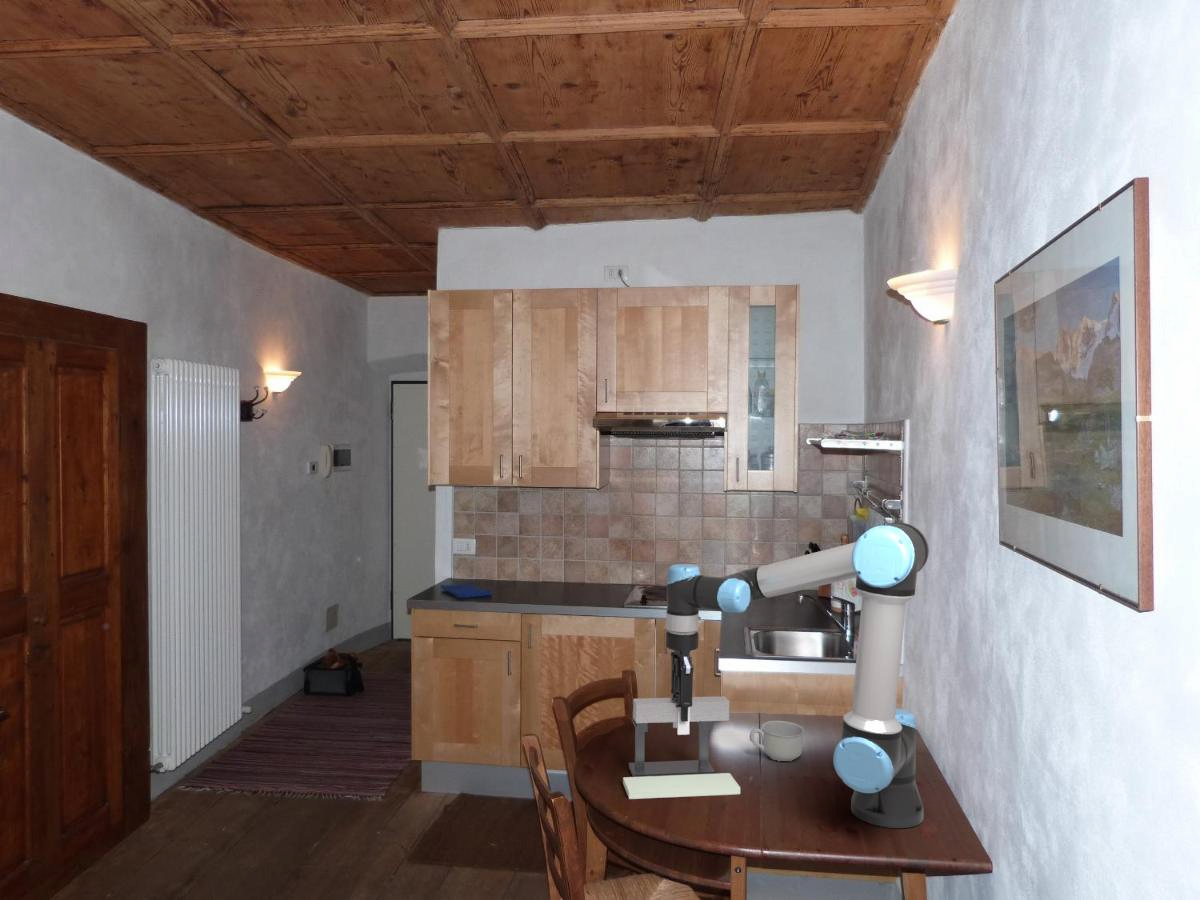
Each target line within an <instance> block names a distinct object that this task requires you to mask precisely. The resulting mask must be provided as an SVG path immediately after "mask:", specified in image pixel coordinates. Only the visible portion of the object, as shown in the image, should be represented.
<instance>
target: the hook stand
mask: <svg viewBox="0 0 1200 900" xmlns="http://www.w3.org/2000/svg"><path fill="white" fill-rule="evenodd" d="M696 722H697V724H698V759H695V760H694V759H693V760H692V759H691V760H669V761H667V760H665V761H645V748H646V747H645V743H646V741H645V739H646V736H645V733H647V732H648V731H649V730H648V728H649V727H648V726H649V725H648V724H649V723H636V722H635V720H634V718H633V717H632V723H633V725H634V730H635V731H634V762H628V770H629V771H630V773H631V775H632V776H631V777H646V776H670V775H695V774H717V773H716V770H715V769H714V767H713V766H712V764H711V763H710V762H709V757H710V755H709V753H710V752H709V750H710V747H709V746H710V745H709V737H710V736H709V735H710V733H709V732H710V731H712V730H713V725H714V724H713V722H714V721H696Z"/></svg>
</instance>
